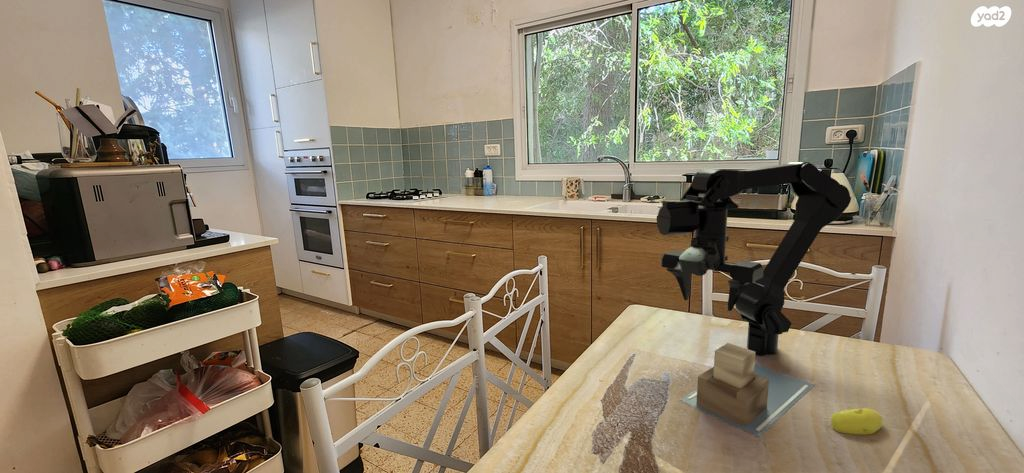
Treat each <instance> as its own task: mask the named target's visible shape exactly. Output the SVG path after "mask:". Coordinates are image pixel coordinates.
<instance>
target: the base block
mask: <svg viewBox="0 0 1024 473" xmlns="http://www.w3.org/2000/svg"><path fill="white" fill-rule="evenodd" d="M713 374H714V366H712V367H711V368H709V369H708V370H706V371H705V372H703V373H701V374H700V375H698V376H697V383H696V384H697V385H696V387H697V388H696V389H697V403H696V404H697V405H699V406H701V407H703V408H705V409H708V410H710V411H712V412H714V413H716V414H718V415H721V416H723V417H725V418H727V419H729V420H731V421H733V422H736V423H738V424H740V425H742V426H744V427H745V426H746V425H747V424H748V423H749V422H750V421H752V420H753V419H754V418H755V417H756V416H757V415H759V414H760V413H761V412H762V411H763V410H764V409H766V408H767V400H768V388H769V379H768V378H765V377H762V376H759V375H757V374H754V378H753V381H752V382H750V383H749V384H748V385H746V386H745V387H744V388H742V389H740V388H737V387H735V386H732V385H730V384H727V383H725V382H722V381H720V380H717V379H715V378H713Z"/></svg>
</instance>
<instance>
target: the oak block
mask: <svg viewBox="0 0 1024 473" xmlns="http://www.w3.org/2000/svg"><path fill="white" fill-rule="evenodd" d="M713 358H714V362H713V367H714V374H713V378H715V379H717V380H720V381H722V382H725V383H727V384H730V385H732V386H735V387H737V388H740V389H742V388H744V387H745V386H746V385H748V384H749V383H750V382H752V381H753V378H754V365H755V364H756V355H755V351H752V350H749V349H748V348H745V347H743V346H739V345H736V344H733V343H729V342H727V343H726V344H724V345H722V346H719V348H717V349H715V350H714V357H713Z"/></svg>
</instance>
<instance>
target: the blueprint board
mask: <svg viewBox="0 0 1024 473" xmlns="http://www.w3.org/2000/svg"><path fill="white" fill-rule="evenodd" d="M754 374H757V375H759V376H762V377H765V378H768V379H769V388H768V400H767V408H766V409H764V410H763V411H762V412H761V413H760V414H759V415H757V416H756V417H755V418H754V419H753V420H752V421H750V422H749V423H748V424H747V425H746V426H745V427H744V426H742V425H740V424H738V423H736V422H733V421H731V420H729V419H727V418H725V417H723V416H721V415H718V414H716V413H714V412H712V411H710V410H708V409H705V408H703V407H701V406H699V405H697V404H696V403H697V388H696V389H694V390H693V391H692V392H690V393H689V394H687V395H685V396H684V397H682V398H681V399H680V400H679V401H680V402H682V403H683V404H684V403H685V404H687V405H689V406H691V407H693V408H695V409H698V411H701V412H704V413H706V414H708V415H710V416H711V417H714V418H715V419H719V420H721V421H723V422H724V423H727V424H729V425H731V426H733V427H736V428H737V429H739V430H742V431H744V432H746V433H748V434H751V435H753V436H755V437H757V438H759V437H761V436H762V435H763V434H764V433H765V432H766V431H767V430H768V429H769V428H771V427H772V425H774V424H775V423H776V422H777V421H778V420H779V419H781V417H782V416H783V415H784V414H785V413H787V412H788V411H789V410H790V409H791V408H792V407H793V406H794V405H795V404H796V403H797V402H798V401H799V400H801V399H802V398H803V397H804V396H805V395H806V394H807V393H808V392H809V391H811V389H812V388H813V387H815V385H816V384H815V383H811V382H809V381H807V380H803V379H800V378H797V377H795V376H791V375H789V374H786V373H783V372H780V371H777V370H773V369H771V368H769V367H767V366H762V365H760V364H756V363H755V365H754Z"/></svg>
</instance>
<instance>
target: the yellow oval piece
mask: <svg viewBox="0 0 1024 473" xmlns="http://www.w3.org/2000/svg"><path fill="white" fill-rule="evenodd" d="M830 420H831V421H830V422H831V427H832V429H833V430H835V431H837V432H839V433H842V434H849V435H872V434H875V433H876V432H878V431H879V430H880V429H881V428H882V426H883V418H882V416H881V415H880V413H878V412H877V411H876V410H874V409H872V408H866V407H865V408H851V409H846V410H841V411H840V410H839V411H837V412H835V413H833V414H832V415H831V419H830Z"/></svg>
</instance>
